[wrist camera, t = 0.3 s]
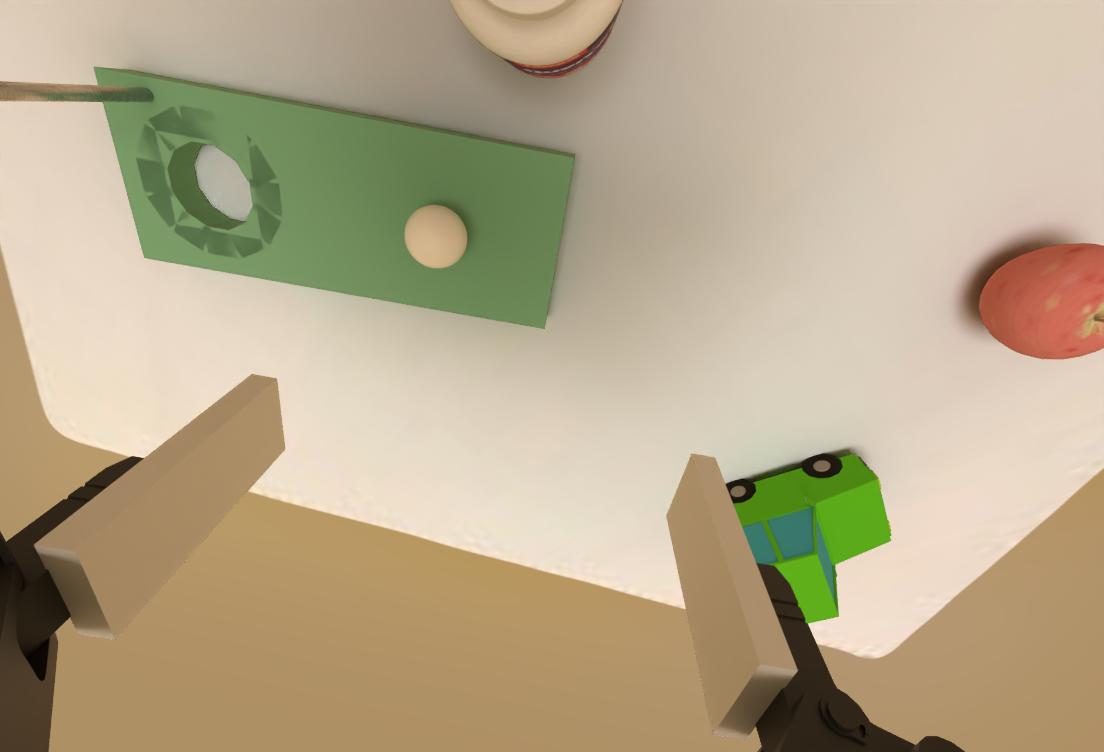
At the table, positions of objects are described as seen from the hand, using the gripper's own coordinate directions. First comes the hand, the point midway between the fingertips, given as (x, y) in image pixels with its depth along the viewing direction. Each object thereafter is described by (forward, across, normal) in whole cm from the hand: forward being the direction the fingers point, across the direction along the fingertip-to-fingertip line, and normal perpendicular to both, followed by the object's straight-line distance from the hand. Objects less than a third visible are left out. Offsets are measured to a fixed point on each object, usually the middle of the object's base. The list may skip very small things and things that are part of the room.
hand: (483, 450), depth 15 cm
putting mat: (+24, -14, +1) cm, 27 cm away
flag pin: (+21, -27, +6) cm, 35 cm away
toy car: (+24, +28, -18) cm, 41 cm away
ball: (+21, -7, +1) cm, 22 cm away
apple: (+24, +34, +5) cm, 42 cm away
